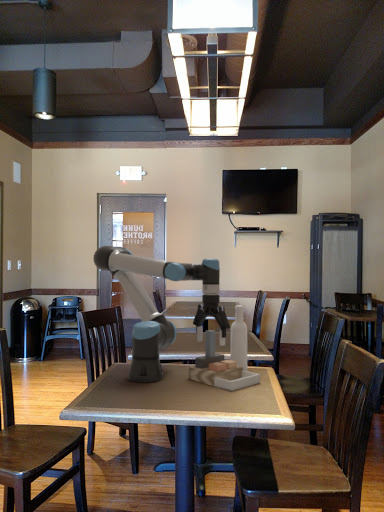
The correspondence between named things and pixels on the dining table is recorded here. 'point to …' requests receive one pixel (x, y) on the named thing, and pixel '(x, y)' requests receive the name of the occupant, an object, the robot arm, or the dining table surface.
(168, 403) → the dining table surface
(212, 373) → the striped wooden block
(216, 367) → the tile
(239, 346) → the bottle
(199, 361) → the grey post
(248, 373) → the box
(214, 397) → the dining table surface
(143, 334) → the robot arm
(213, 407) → the dining table surface
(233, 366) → the tile
